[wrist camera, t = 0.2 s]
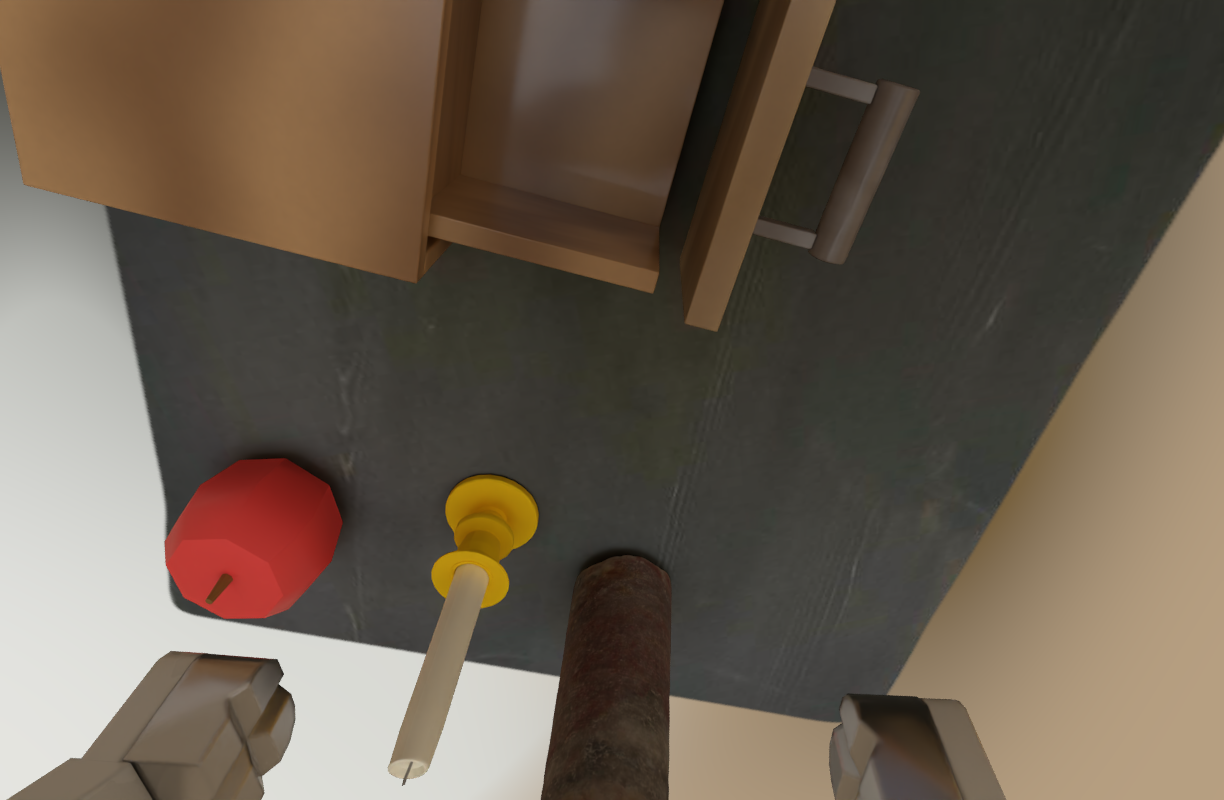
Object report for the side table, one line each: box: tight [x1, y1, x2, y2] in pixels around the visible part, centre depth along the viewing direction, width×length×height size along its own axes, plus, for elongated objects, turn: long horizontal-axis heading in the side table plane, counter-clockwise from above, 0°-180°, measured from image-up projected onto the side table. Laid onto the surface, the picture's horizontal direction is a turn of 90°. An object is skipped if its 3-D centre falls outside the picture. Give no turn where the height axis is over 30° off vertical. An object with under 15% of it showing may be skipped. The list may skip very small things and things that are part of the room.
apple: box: [165, 458, 343, 619], centre depth 35 cm, size 8×8×8 cm
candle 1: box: [388, 475, 539, 786], centre depth 31 cm, size 5×5×16 cm
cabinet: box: [0, 0, 453, 283], centre depth 22 cm, size 13×13×9 cm
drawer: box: [428, 0, 920, 332], centre depth 23 cm, size 16×11×7 cm
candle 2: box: [541, 555, 671, 800], centre depth 33 cm, size 6×6×16 cm
